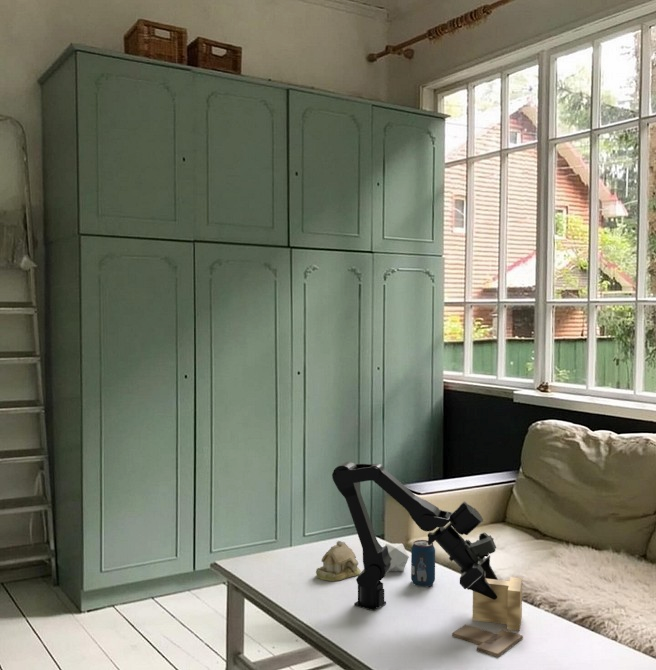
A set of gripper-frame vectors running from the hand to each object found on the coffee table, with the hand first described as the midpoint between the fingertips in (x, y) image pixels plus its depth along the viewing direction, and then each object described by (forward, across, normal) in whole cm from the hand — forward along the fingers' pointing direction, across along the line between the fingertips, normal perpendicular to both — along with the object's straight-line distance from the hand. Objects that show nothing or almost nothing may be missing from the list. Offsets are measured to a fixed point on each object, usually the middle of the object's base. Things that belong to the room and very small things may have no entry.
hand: (497, 592), depth 199 cm
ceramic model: (-29, +21, +40) cm, 54 cm away
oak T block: (+6, 0, +5) cm, 7 cm away
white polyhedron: (-19, +30, +29) cm, 46 cm away
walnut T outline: (+4, -13, +6) cm, 15 cm away
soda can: (-11, +21, +22) cm, 32 cm away
